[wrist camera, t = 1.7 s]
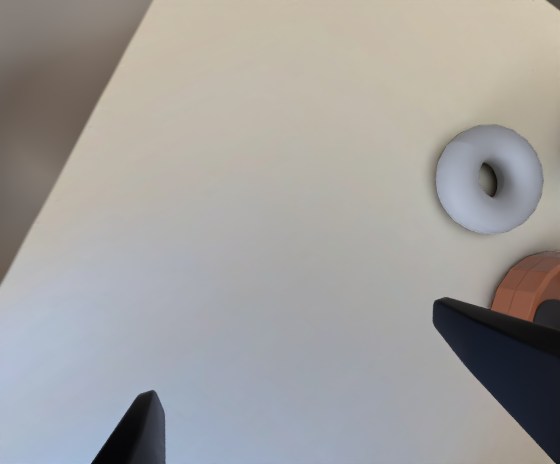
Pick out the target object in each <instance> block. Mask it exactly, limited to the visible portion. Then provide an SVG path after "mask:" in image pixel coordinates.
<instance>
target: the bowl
mask: <svg viewBox="0 0 560 464" xmlns="http://www.w3.org/2000/svg"><path fill="white" fill-rule="evenodd" d="M551 299H557V300H560V251H545V252H542V253H538V254H535V255H531V256H528V257H526V258H524V259H523V260H522V261H520V262H519V263H518V264H516V265H515V266H514V267H512V268H511V269H510V271H509V272H508V274H507V275H506V276H505V278H504V279H503V281H502V282H501V284H500V285H499V287H498V289H497V292H496V295H495V298H494V301H493V304H492V307H491V310H493V311H496V312H500V313H503V314H507V315H510V316H514V317H517V318H520V319H524V320H527V321H531V322H533V318H534V315H535V312H536V310H537V309H538V307H539V306H540V305H541V304H542V303H544V302H545V301H547V300H551Z"/></svg>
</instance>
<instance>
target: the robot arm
mask: <svg viewBox="0 0 560 464" xmlns="http://www.w3.org/2000/svg"><path fill="white" fill-rule="evenodd" d="M433 324H434V326H435V328H436V329H437V330H438V332H439V333H440V334H441V335H442V337H443V338H444V339H445V341H446V342H447V343H448V344H449V346H450V347H451V348H452V350H453V351H454V352H455V353H456V355H457V356H458V357H459V359H460V360H461V361H462V362H463V364H464V365H465V366H466V367H467V368H468V369H469V371H470V372H471V373H472V374H473V375H474V376H475V377H476V378H477V379H478V380H479V381H480V383H481V384H482V385H483V386H484V387H485V388H486V389H487V390H488V391H489V392H490V393H491V394H492V395H493V397H494V398H495V399H496V400H497V401H498V402H499V403H500V404H501V405H502V406H503V407H504V408H505V409H506V411H507V412H508V413H509V414H510V415H511V416H512V417H513V418H514V419H515V420H516V421H517V422H518V423H519V425H520V426H521V427H522V428H523V429H524V430H525V431H526V432H527V433H528V434H529V435H530V436H531V437H532V438H533V440H534V441H535V442H536V443H537V444H538V445H539V446H540V447H541V448H542V449H543V450H544V451H545V452H546V454H547V455H548V456H549V457H550V458H551V459H552V460H553V461H554V462H555V463H556V464H560V330H558V329H555V328H551V327H548V326H545V325H541V324H538V323H534V322H531V321H527V320H524V319H520V318H517V317H514V316H510V315H507V314H503V313H500V312H496V311H493V310H489V309H486V308H483V307H479V306H476V305H472V304H469V303H465V302H462V301H458V300H455V299H452V298H448V297H444V298H441V299H438V300H435V302H434V304H433ZM91 464H165V413H164V409H163V407H162V405H161V402H160V400H159V398H158V395H157V393H156V392H155V391H154V390H151V391H148V392H144V393H141V394H139V395H138V396H137V397H136V399H135V400H134V402H133V403H132V405H131V406H130V408H129V409H128V410H127V412H126V413H125V415H124V416H123V418H122V419H121V421H120V422H119V424H118V425H117V427H116V428H115V429H114V431H113V432H112V434H111V435H110V437H109V438H108V440H107V441H106V443H105V444H104V446H103V447H102V448H101V450H100V451H99V453H98V454H97V456H96V457H95V459H94V460H93V462H92V463H91Z"/></svg>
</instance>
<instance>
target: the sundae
mask: <svg viewBox="0 0 560 464" xmlns="http://www.w3.org/2000/svg"><path fill="white" fill-rule="evenodd" d="M533 322H534V323H538V324H541V325H545V326H548V327H551V328H555V329H558V330H560V300H557V299H551V300H547V301H545V302H544V303H542V304H541V305H540V306H539V307H538V309H537V310H536V312H535V315H534V318H533Z"/></svg>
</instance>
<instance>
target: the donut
mask: <svg viewBox="0 0 560 464" xmlns="http://www.w3.org/2000/svg"><path fill="white" fill-rule="evenodd" d="M483 162H484V163H487V164H488V165H489V166H491V167H492V169H493V170H494V172H495V174H496V177H497V183H498V186H497V191H496V193H495V195H494V196H493V197H490V196H488V195H487V194H486V193H485V192H484V190H483V189H482V187H481V184H480V181H479V170H480V167H481V165H482V163H483ZM435 178H436V186H437V194H438V196H439V198H440V201H441V203H442V206H443V208H444V209H445V210H446V212H447V213H448V214H449V215H450V217H451V218H452V219H453V220H454V221H456V222H457V223H459V224H460V225H462V226H463V227H465V228H466V229H468V230H470V231H474V232H478V233H482V234H496V233H504V232H508V231H510V230H512V229H514V228H516V227H518V226H519V225H521V224H523V223H524V222H525V221H526V220H527V219H528V218H529V217H530V216H531V215H532V213H533V212H534V211H535V209H536V207H537V204H538V202H539V200H540V198H541V195H542V189H543V181H544V180H543V172H542V165H541V163H540V160H539V158H538V156H537V153H536V151H535V150H534V149H533V147H532V146H531V145H530V143H529V142H528V141H527V140H526V139H525V138H524V137H522V136H521V135H519V134H518V133H517V132H515V131H514V130H513V129H509V128H506V127H503V126H500V125H479V126H475V127H473V128H470V129H468V130H466V131H463V132H461V133H460V134H458V135H457V136H456V137H455V138H454V139H453V140H452V141H451V142H450V143H449V144H448V145H447V146H446V148H445V149H444V151H443V153H442V155H441V157H440V159H439V161H438V165H437V171H436V177H435Z"/></svg>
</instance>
